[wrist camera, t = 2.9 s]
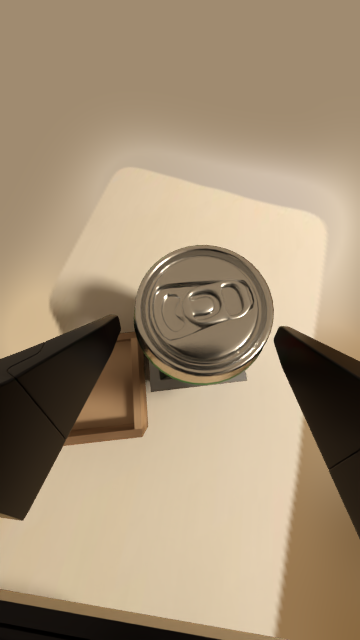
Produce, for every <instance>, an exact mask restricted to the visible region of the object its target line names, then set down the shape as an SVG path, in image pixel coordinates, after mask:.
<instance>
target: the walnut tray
mask: <svg viewBox="0 0 360 640" xmlns="http://www.w3.org/2000/svg"><path fill="white" fill-rule="evenodd" d="M147 427H148V417H147V401H146V384H145V368H144V352H143V351H142V349H141V347H140V345H139V342H138V340H137V337H136V333H135V332H128V333H120V334H119V336H118V339H117V341H116V344H115V346H114V349H113V351H112V354H111V356H110V358H109V360H108V361H107V363H106V365H105V367H104V369H103V371H102V373H101V375H100V377H99V379H98V380H97V382H96V384H95V386H94V388H93V390H92V392H91V394H90V396H89V397H88V399H87V401H86V403H85V405H84V407H83V409H82V411H81V413H80V415H79V416H78V418H77V420H76V422H75V424H74V426H73V428H72V430H71V432H70V434H69V435H68V437H67V439H66V441H65V443H64V445H63V446H66V445H75V444H84V443H93V442H101V441H110V440H119V439H128V438H137V437H142V436H143V435H144V433H145V431H146V429H147Z"/></svg>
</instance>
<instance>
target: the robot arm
mask: <svg viewBox="0 0 360 640" xmlns="http://www.w3.org/2000/svg"><path fill="white" fill-rule="evenodd" d="M120 331H121V327H120V322H119V318H118V316H117V315H109V316H106V317H104V318H102V319H99V320H97V321H94V322H92V323H89V324H87V325H85V326H82V327H80V328H77V329H75V330H72V331H70V332H68V333H65V334H63V335H60V336H58V337H55V338H53V339H51V340H48V341H46V342H43V343H41V344H38V345H36V346H33V347H31V348H28V349H26V350H23V351H21V352H18V353H16V354H13V355H10V356H7V357H5V358H2V359H0V517H1V518H8V519H14V520H21V521H23V520H24V518H25V517H26V515H27V513H28V511H29V510H30V508H31V506H32V504H33V502H34V500H35V498H36V496H37V494H38V493H39V491H40V489H41V487H42V485H43V483H44V481H45V479H46V477H47V476H48V474H49V472H50V470H51V468H52V466H53V464H54V462H55V460H56V458H57V457H58V455H59V453H60V451H61V449H62V447H63V445H64V443H65V441H66V439H67V437H68V435H69V434H70V432H71V430H72V428H73V426H74V424H75V422H76V420H77V418H78V416H79V415H80V413H81V411H82V409H83V407H84V405H85V403H86V401H87V399H88V397H89V396H90V394H91V392H92V390H93V388H94V386H95V384H96V382H97V380H98V379H99V377H100V375H101V373H102V371H103V369H104V367H105V365H106V363H107V361H108V360H109V358H110V356H111V354H112V351H113V349H114V346H115V344H116V341H117V339H118V336H119V333H120ZM274 344H275V347H276V350H277V353H278V357H279V360H280V363H281V365H282V368H283V370H284V373H285V375H286V377H287V379H288V381H289V384H290V386H291V388H292V390H293V392H294V395H295V397H296V399H297V401H298V404H299V406H300V408H301V410H302V412H303V415H304V417H305V419H306V421H307V423H308V425H309V427H310V430H311V432H312V434H313V437H314V439H315V441H316V443H317V445H318V448H319V450H320V452H321V454H322V456H323V459H324V461H325V463H326V465H327V467H328V469H329V472H330V474H331V477H332V479H333V481H334V483H335V485H336V487H337V490H338V492H339V494H340V497H341V499H342V501H343V503H344V505H345V508H346V510H347V512H348V514H349V516H350V518H351V520H352V523H353V525H354V527H355V530H356V532H357V534H358V536H359V539H360V361H358V360H356V359H354V358H352V357H349V356H347V355H345V354H343V353H341V352H339V351H337V350H335V349H333V348H331V347H329V346H327V345H325V344H323V343H321V342H319V341H317V340H315V339H313V338H311V337H309V336H307V335H305V334H303V333H301V332H299V331H296V330H294V329H292V328H290V327H287V326H280V327H279V328H278V330H277V333H276V335H275V337H274ZM0 640H287V639H282V638H276V637H270V636H265V635H259V634H253V633H247V632H242V631H236V630H230V629H225V628H219V627H213V626H207V625H202V624H196V623H190V622H185V621H179V620H173V619H167V618H162V617H156V616H150V615H145V614H139V613H133V612H127V611H122V610H116V609H110V608H105V607H99V606H93V605H87V604H82V603H76V602H70V601H65V600H59V599H53V598H47V597H42V596H36V595H30V594H25V593H19V592H13V591H7V590H2V589H0Z"/></svg>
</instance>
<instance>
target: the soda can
mask: <svg viewBox="0 0 360 640" xmlns="http://www.w3.org/2000/svg"><path fill="white" fill-rule="evenodd" d="M273 315H274V308H273V300H272V296H271V293H270V290H269V287H268V285H267V283H266V281H265V279H264V278H263V276H262V275H261V274H260V272H259V271H258V270H257V269H256V268H255V267H254V266H253V264H251V263H250V262H249V261H248V260H246V259H245V258H244V257H242V256H240V255H239V254H237V253H235V252H233V251H230V250H228V249H225V248H221V247H217V246H210V245H195V246H188V247H185V248H181V249H178V250H176V251H173V252H171V253H169V254H167V255H166V256H164V257H163V258H161V259H160V260H159V261H158V262H156V263H155V264H154V265H153V266H152V267H151V268H150V270H149V271H148V272H147V273H146V275H145V277H144V278H143V280H142V282H141V284H140V286H139V289H138V292H137V296H136V302H135V310H134V328H135V333H136V337H137V340H138V342H139V345H140V347H141V349H142V351H143V352H144V354H145V355H146V357H147V358H148V359H149V360H150V362H151V363H152V364H153V365H154V366H155V367H156V368H158V369H159V370H160V371H161V372H162V373H164V374H166V375H168V376H169V377H171V378H173V379H176V380H178V381H181V382H184V383H189V384H194V385H210V384H218V383H221V382H224V381H227V380H230V379H232V378H234V377H236V376H238V375H239V374H241V373H242V372H243V371H245V370H246V369H247V368H249V366H250V365H251V364H252V363H253V362H254V361H255V360H256V359H257V357H258V355H259V354H260V352H261V351H262V349H263V346H264V345H265V343H266V342H267V339H268V337H269V335H270V332H271V328H272V324H273Z"/></svg>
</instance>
